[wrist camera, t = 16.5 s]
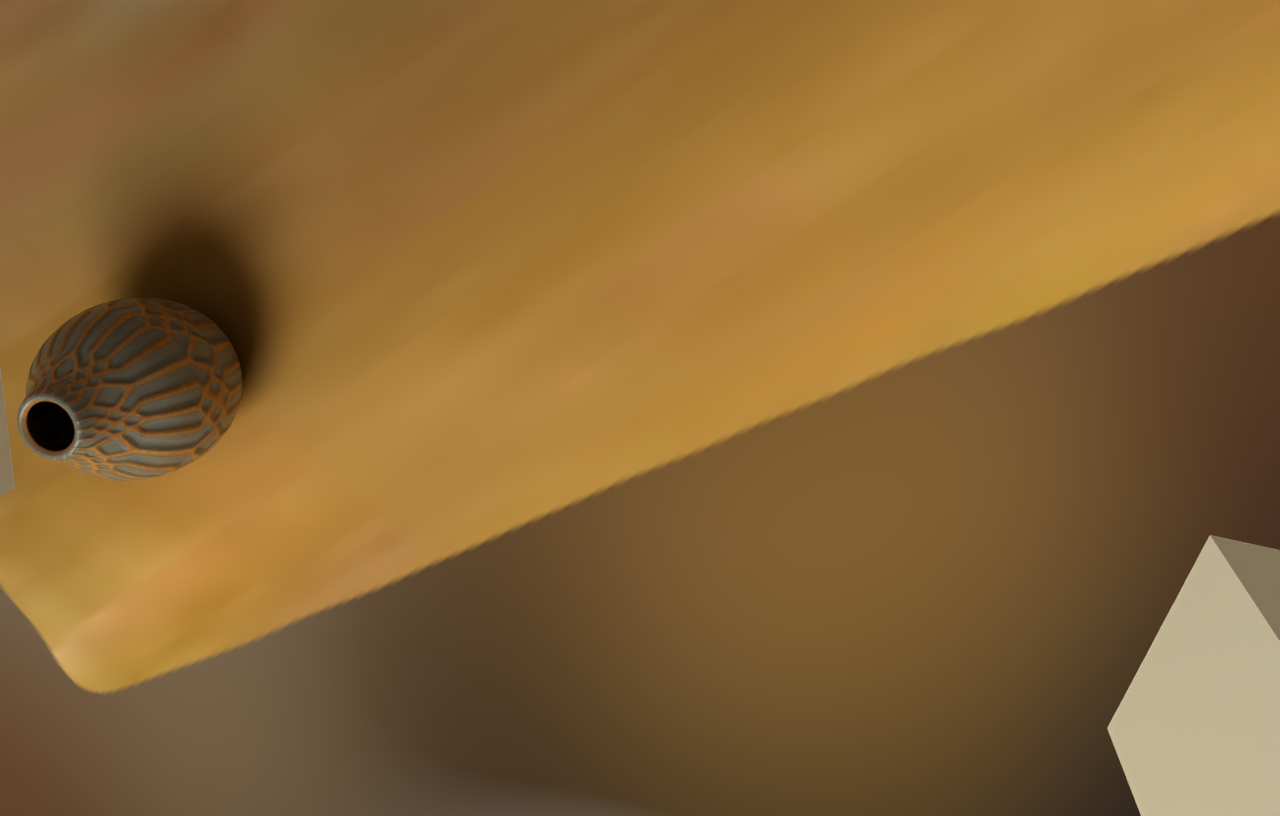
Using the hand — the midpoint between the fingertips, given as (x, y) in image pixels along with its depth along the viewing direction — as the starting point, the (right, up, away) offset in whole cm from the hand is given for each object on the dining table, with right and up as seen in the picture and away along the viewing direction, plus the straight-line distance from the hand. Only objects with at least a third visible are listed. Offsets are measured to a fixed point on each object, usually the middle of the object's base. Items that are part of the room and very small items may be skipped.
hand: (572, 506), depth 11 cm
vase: (-18, +3, +33) cm, 37 cm away
